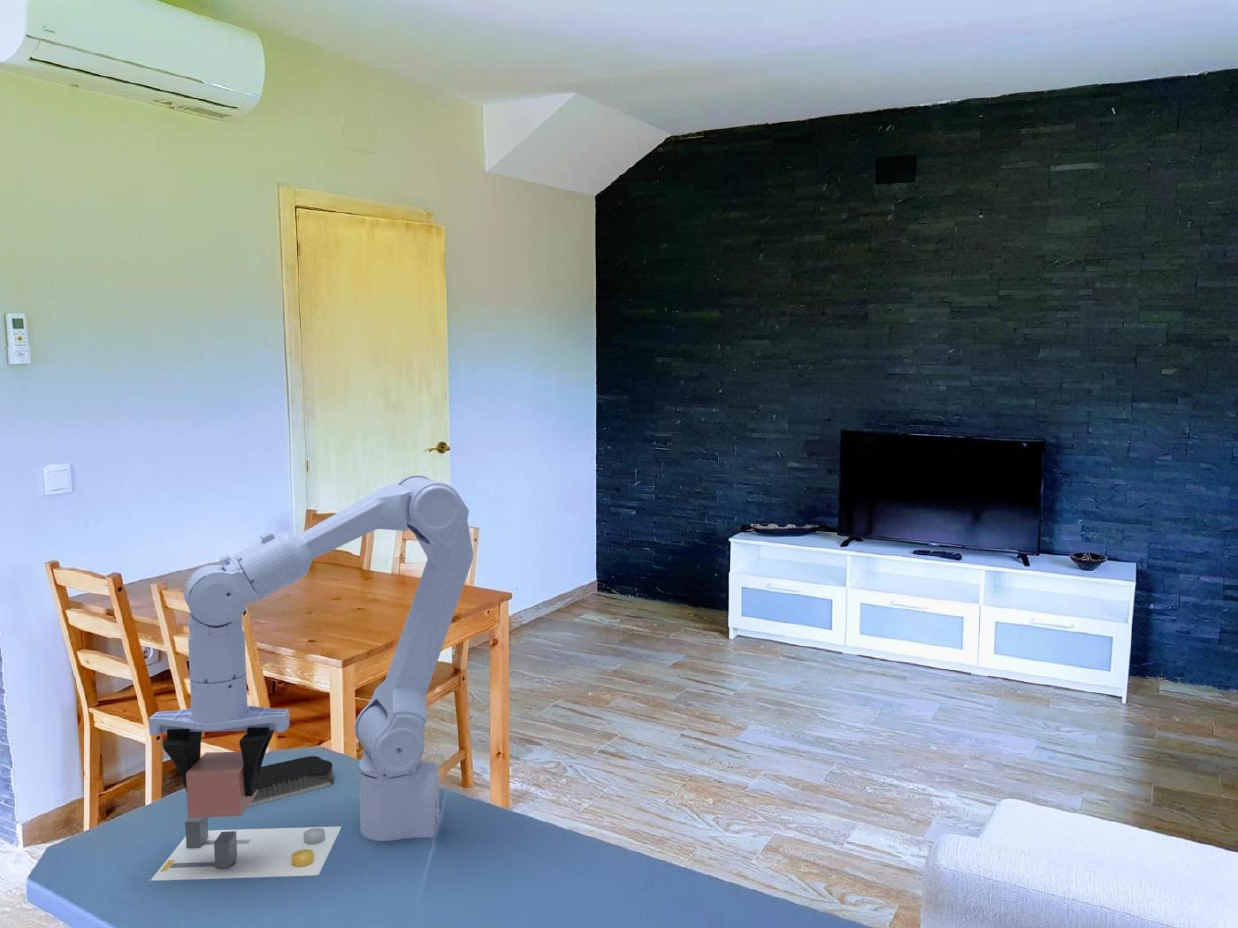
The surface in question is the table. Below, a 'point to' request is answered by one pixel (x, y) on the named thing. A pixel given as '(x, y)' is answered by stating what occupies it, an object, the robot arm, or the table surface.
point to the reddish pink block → (217, 786)
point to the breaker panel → (249, 853)
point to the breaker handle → (225, 849)
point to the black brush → (292, 778)
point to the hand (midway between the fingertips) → (223, 793)
